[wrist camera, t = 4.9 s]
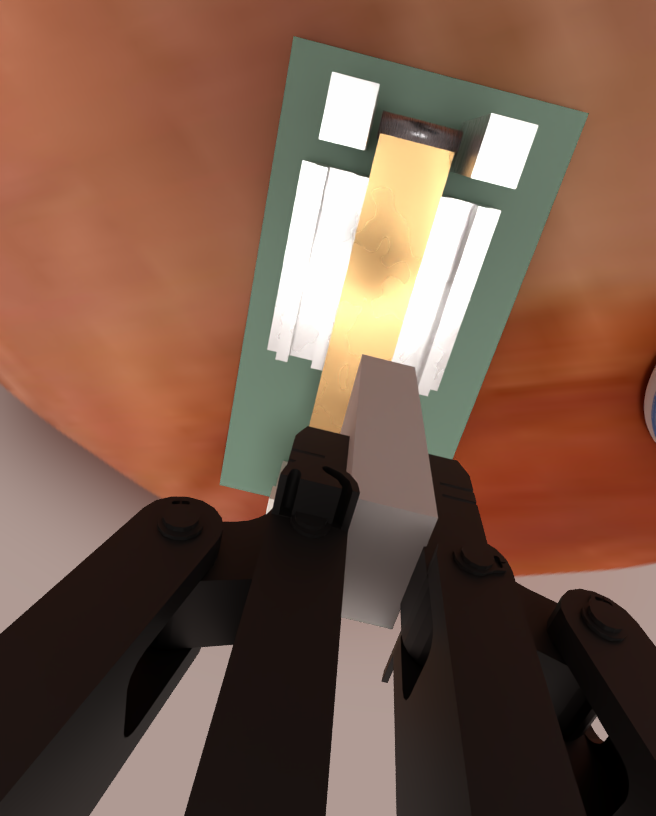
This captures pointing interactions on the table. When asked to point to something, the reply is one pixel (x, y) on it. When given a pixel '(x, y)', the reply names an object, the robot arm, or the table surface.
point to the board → (299, 140)
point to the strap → (385, 254)
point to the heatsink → (337, 224)
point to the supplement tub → (651, 405)
